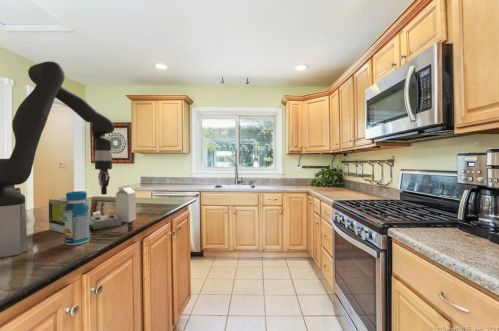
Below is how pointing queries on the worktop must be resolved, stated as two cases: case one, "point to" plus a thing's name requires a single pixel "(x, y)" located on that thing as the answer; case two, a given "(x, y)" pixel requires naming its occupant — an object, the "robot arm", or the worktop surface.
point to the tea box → (57, 214)
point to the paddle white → (97, 214)
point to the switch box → (104, 221)
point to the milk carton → (126, 204)
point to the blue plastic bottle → (76, 218)
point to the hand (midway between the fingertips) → (104, 194)
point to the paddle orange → (111, 212)
